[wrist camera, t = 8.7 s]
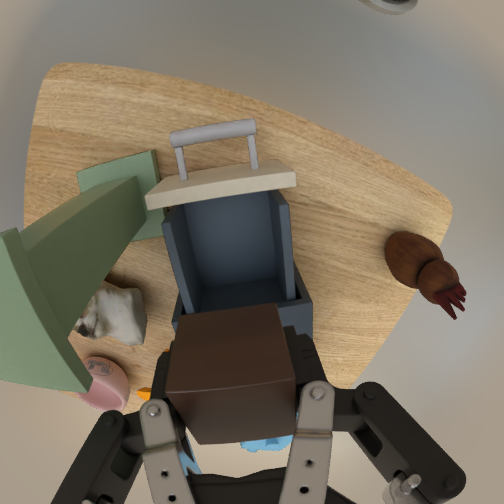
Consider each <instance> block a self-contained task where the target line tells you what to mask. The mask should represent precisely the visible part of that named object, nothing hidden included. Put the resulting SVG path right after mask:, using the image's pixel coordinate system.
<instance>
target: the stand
mask: <svg viewBox="0 0 504 504" xmlns="http://www.w3.org/2000/svg"><path fill="white" fill-rule="evenodd" d="M76 174H77V178H78V183H79V187H80V191H81V194H79V195H77V196H76V197H74V198H72V199H71V200H69V201H67V202H66V203H64V204H62V205H61V206H59V207H57V208H56V209H54V210H53V211H51V212H49V213H48V214H46V215H45V216H43V217H42V218H40V219H39V220H37V221H36V222H34V223H33V224H31V225H30V226H28V227H27V228H25V229H24V230H23V231H21V232H20V233H18V230H17V228H16V227H15V228H12V229H9V230H6V231H4V232H1V233H0V380H4V381H9V382H14V383H18V384H24V385H29V386H35V387H41V388H48V389H55V390H62V391H71V392H80V393H88V392H89V390H90V387H91V384H92V382H93V377H92V376H91V374H90V373H89V371H88V370H87V368H86V367H85V365H84V364H83V362H82V361H81V359H80V358H79V356H78V355H77V353H76V352H75V350H74V348H73V347H72V345H71V344H70V342H69V340H68V339H67V338H68V336H69V335H70V333H71V331H72V329H73V328H74V326H75V324H76V323H77V321H78V319H79V318H80V316H81V314H82V313H83V311H84V309H85V308H86V306H87V305H88V303H89V301H90V300H91V298H92V297H93V295H94V294H95V292H96V291H97V289H98V288H99V286H100V285H101V283H102V282H103V280H104V279H105V277H106V276H107V274H108V273H109V271H110V270H111V268H112V267H113V265H114V264H115V263H116V261H117V260H118V258H119V257H120V256H121V254H122V253H123V251H124V250H125V249H126V247H127V246H128V245H129V243H130V242H132V241H137V240H143V239H148V238H154V237H159V236H164V235H163V231H162V227H161V223H162V222H163V220H164V218H165V217H166V215H167V214H168V212H167V207H163V208H158V209H153V210H148V209H147V205H146V201H145V197H144V196H145V195H146V194H147V193H148V192H149V191H150V190H152V189H153V188H154V187H155V186H156V185H157V184H158V183H159V182H161V180H160V175H159V170H158V165H157V160H156V155H155V150H150V151H146V152H142V153H138V154H134V155H131V156H127V157H123V158H120V159H116V160H113V161H109V162H106V163H103V164H99V165H96V166H93V167H90V168H87V169H84V170H81V171H78V172H76Z"/></svg>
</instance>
